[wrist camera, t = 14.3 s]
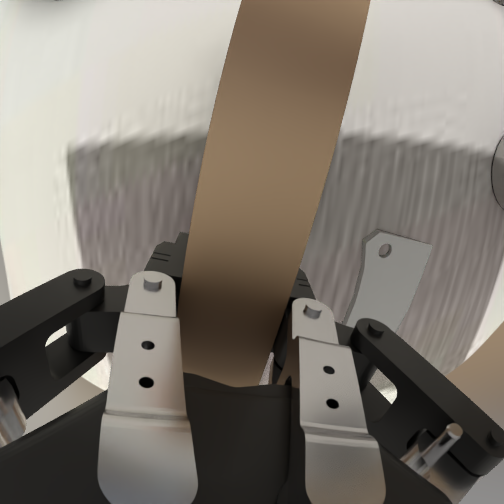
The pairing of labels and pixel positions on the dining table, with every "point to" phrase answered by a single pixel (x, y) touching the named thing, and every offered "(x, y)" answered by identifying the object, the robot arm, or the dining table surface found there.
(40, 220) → the dining table surface
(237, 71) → the curved tan slat
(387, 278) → the kitchen cleaver
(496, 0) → the coffee mug
